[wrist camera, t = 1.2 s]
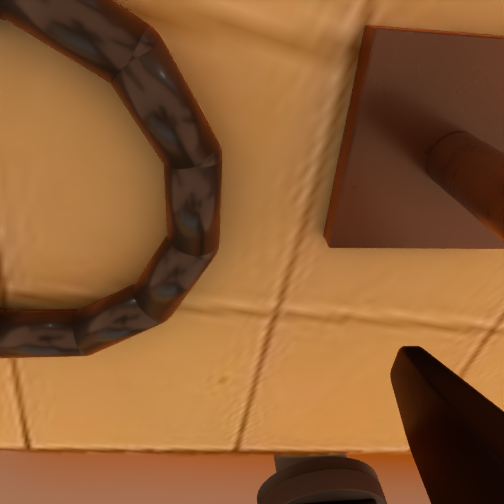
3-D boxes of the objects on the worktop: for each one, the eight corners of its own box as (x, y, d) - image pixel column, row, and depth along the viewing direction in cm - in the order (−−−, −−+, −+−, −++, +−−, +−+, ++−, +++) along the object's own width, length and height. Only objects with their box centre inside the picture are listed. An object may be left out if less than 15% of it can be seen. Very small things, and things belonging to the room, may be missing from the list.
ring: (214, 330, 20) (216, 361, 18) (-124, 336, 18) (-156, 372, 16) (227, -46, 12) (231, -50, 10) (-390, -107, 10) (-508, -123, 8)
